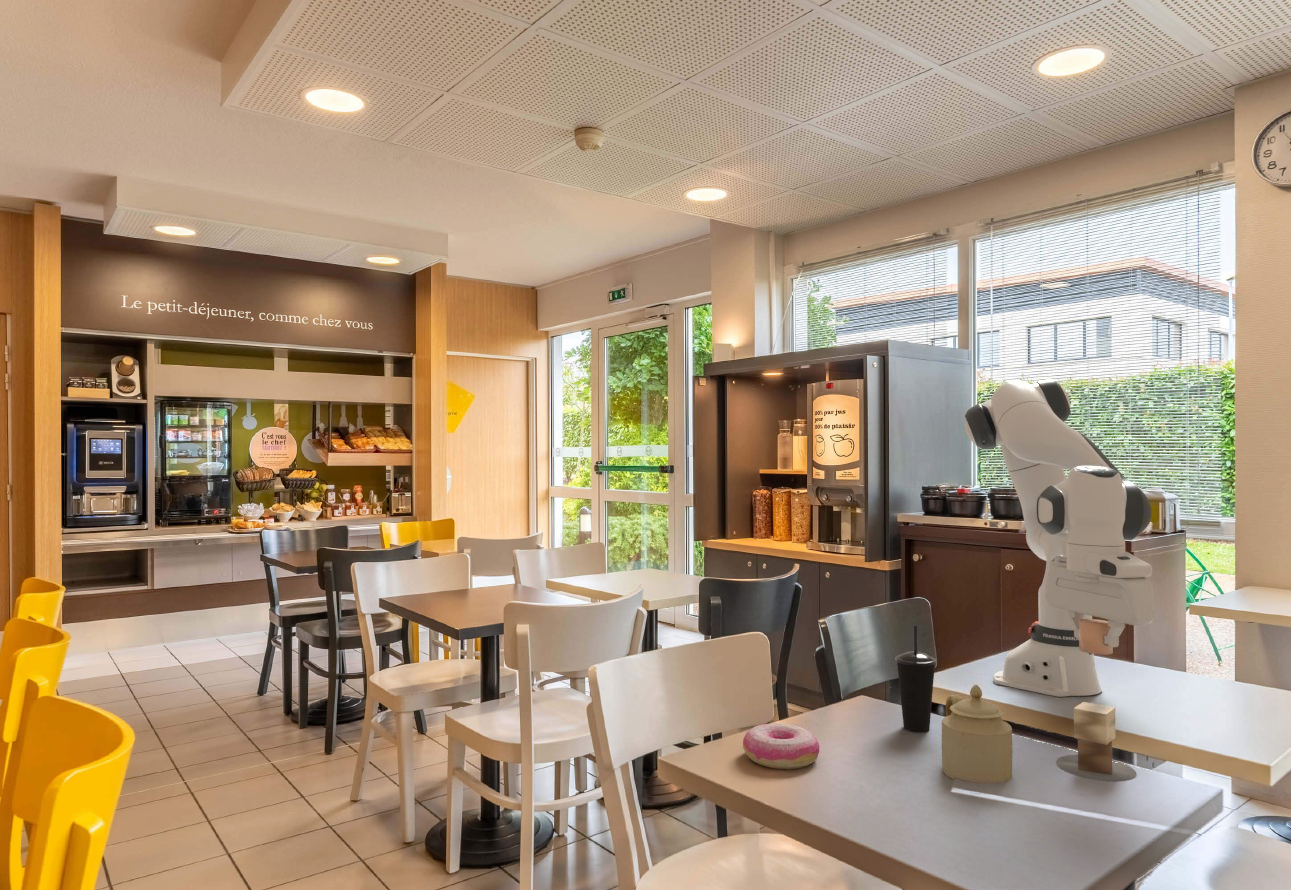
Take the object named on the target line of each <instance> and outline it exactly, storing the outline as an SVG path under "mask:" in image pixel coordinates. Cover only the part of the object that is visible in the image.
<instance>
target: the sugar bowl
mask: <svg viewBox="0 0 1291 890" xmlns="http://www.w3.org/2000/svg"><path fill="white" fill-rule="evenodd" d="M969 695H970V696H971V698H967V699H963V698H962V696H960V695H958V694H951V695H949V696H947V698H946V699H945V700H946V701H945V717H943V718H942V720H941V769H942V772H943V773H944V775H945V776H947V777H948V778H950V779H952V780H955V779H958V780H963V781H967V782H972V783H978V784H979V783H980V784H999V783H1003V782H1007V781H1009V780H1011V778H1012V777H1013V728H1012V727H1013V726H1011V724H1009V723H1008V722H1006V721H1005V720H1003V718H1002V716H1004V712H1003V710H1002V709H1000V708H998V707H997V706H996V705H995V704H993V703H992V702H989V701H987V700H982V699H981V698H982V696H983V691H982V689H981V687H980V686H979V685H978V684H974V685H973V686H972V687H971V689H970V691H969Z"/></svg>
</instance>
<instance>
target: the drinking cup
mask: <svg viewBox="0 0 1291 890" xmlns="http://www.w3.org/2000/svg"><path fill="white" fill-rule="evenodd" d="M894 659H895V661H896V666H897V674H898V683H899V685H898V686H899V693H900V702H901V713H902V714H901V715H902V722H903V723H902V724H903V725H902V726H903V728H904V729H905V730H907V731H909V732H913V733H925V732H929V731H930V726H931V718H932V716H931V715H932V704H933V703H932V702H933V692H934V691H933V690H934V677H935V665H936V664H937V659H936V658H935V657H933V656H930V655H928V654H927V653H924V652H921V651H918V626H917V625H913V651H907V652H904V653H901V654H898V655H896V656H895V658H894Z"/></svg>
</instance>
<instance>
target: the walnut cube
mask: <svg viewBox="0 0 1291 890" xmlns="http://www.w3.org/2000/svg"><path fill="white" fill-rule="evenodd" d="M1077 755H1078V770H1084V771H1090V772H1096V773H1102V774H1109V775H1112V760H1113V740H1112V741H1111V742H1110V743H1108V744H1107V745H1105V744H1100V743H1096V742H1091V741H1086V740H1082V739H1077Z"/></svg>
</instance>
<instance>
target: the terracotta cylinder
mask: <svg viewBox="0 0 1291 890" xmlns="http://www.w3.org/2000/svg"><path fill="white" fill-rule="evenodd" d="M1110 628H1111V627H1110V626H1108V620H1106V619H1094V618H1092V619H1081V620H1079V650H1080V651H1082V652H1086V653H1091V654H1094V655H1101V656H1102V655H1104V656H1105V655H1112V654H1113V653H1114V651H1113V650H1114V649H1113V648H1114V647H1109V646H1105V645H1104V644H1103V641H1104V639H1103V635H1108V633H1109V630H1110Z"/></svg>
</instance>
